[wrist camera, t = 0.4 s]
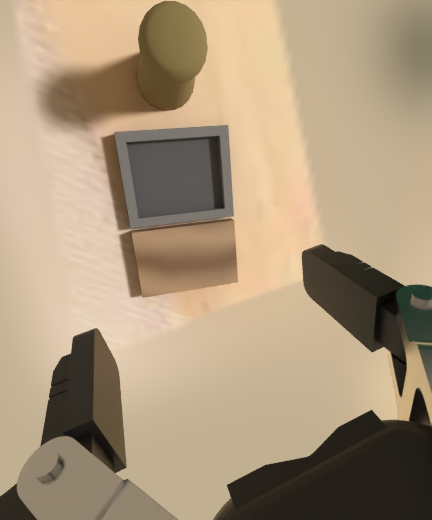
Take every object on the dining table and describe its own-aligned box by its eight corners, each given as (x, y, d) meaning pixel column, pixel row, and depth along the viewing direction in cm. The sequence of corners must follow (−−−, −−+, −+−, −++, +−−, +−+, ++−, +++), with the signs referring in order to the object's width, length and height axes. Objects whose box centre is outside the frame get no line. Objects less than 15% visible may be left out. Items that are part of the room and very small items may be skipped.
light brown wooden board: (131, 230, 35) (131, 232, 34) (230, 218, 37) (234, 220, 36) (142, 292, 38) (142, 297, 36) (234, 278, 40) (237, 282, 39)
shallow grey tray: (115, 133, 32) (114, 132, 31) (224, 126, 34) (228, 125, 33) (131, 226, 35) (130, 228, 34) (230, 214, 37) (233, 216, 36)
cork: (193, 113, 33) (214, 88, 23) (136, 107, 32) (132, 78, 22) (195, 49, 31) (219, -8, 21) (135, 41, 30) (130, -25, 20)
